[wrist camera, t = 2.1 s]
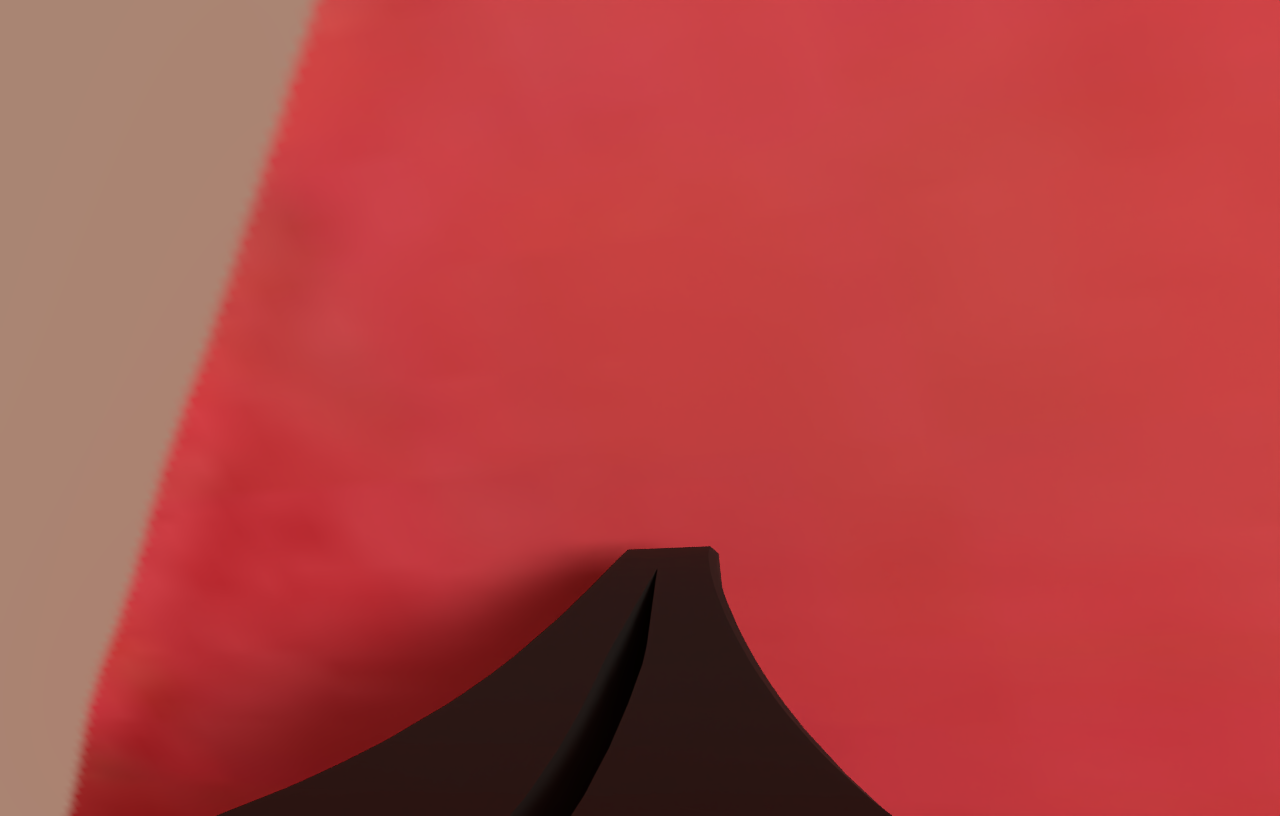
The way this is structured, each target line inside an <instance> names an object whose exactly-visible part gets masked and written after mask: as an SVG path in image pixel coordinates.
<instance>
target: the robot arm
mask: <svg viewBox="0 0 1280 816" xmlns="http://www.w3.org/2000/svg"><path fill="white" fill-rule="evenodd" d="M217 816H892V815H891V814H889V813H888V812H887V811H885V810H884V809H883V808H882V807H881V806H880V805H878V804H877V803H876V802H875V801H874V800H873V799H872V798H871V797H870V796H869V795H868V794H867V793H866V792H864V791H863V790H862V789H861V788H860V787H859V786H858V785H857V784H856V783H855V782H854V781H853V780H852V779H851V778H850V777H848V776H847V775H846V774H845V773H844V772H843V770H842V769H841V768H840V767H839V766H838V765H837V764H836V763H835V762H834V761H833V760H832V759H831V757H830V756H829V755H828V754H827V753H826V752H825V751H824V750H823V749H822V748H821V747H820V745H819V744H818V743H817V742H816V741H815V740H814V739H813V738H812V737H811V736H810V735H809V734H808V732H807V731H806V730H805V729H804V728H803V727H802V725H801V724H800V723H799V722H798V720H797V719H796V718H795V717H794V715H793V714H792V713H791V711H790V710H789V709H788V708H787V706H786V705H785V704H784V702H783V701H782V700H781V698H780V697H779V695H778V694H777V692H776V691H775V690H774V688H773V687H772V685H771V684H770V682H769V681H768V679H767V678H766V676H765V675H764V673H763V672H762V670H761V668H760V667H759V665H758V663H757V662H756V660H755V658H754V656H753V655H752V653H751V651H750V649H749V648H748V646H747V644H746V642H745V640H744V638H743V636H742V634H741V632H740V630H739V628H738V626H737V624H736V622H735V619H734V617H733V615H732V612H731V610H730V608H729V605H728V603H727V601H726V598H725V595H724V592H723V589H722V582H721V573H720V563H719V554H718V553H717V552H716V551H715V550H714V549H713V548H711V547H710V546H708V547H683V548H659V549H634V550H627V551H626V552H625V553H624V554H623V555H622V556H621V557H620V558H619V559H618V560H617V561H616V562H615V563H614V564H613V565H612V566H611V567H610V568H609V569H608V570H607V571H606V572H605V573H604V574H603V575H602V576H601V577H600V578H599V579H598V580H597V581H596V582H595V583H594V584H593V585H592V586H591V587H590V588H589V589H588V590H587V591H586V592H585V593H584V594H583V595H582V596H581V597H580V598H579V599H578V600H577V601H576V602H575V603H574V604H573V605H572V606H571V607H570V608H569V609H568V610H567V611H566V612H565V613H564V614H562V615H561V616H560V617H559V618H558V619H557V620H556V621H555V622H554V623H552V624H551V625H550V626H549V627H548V628H547V629H545V630H544V631H543V632H542V633H541V634H540V635H539V636H537V637H536V638H535V639H534V640H533V641H532V642H530V643H529V644H528V645H527V646H526V647H525V648H523V649H522V650H521V651H520V652H519V653H518V654H517V655H515V656H514V657H513V658H512V659H510V660H509V661H508V662H506V663H505V664H504V665H503V666H501V667H500V668H499V669H497V670H496V671H495V672H493V673H492V674H491V675H489V676H488V677H486V678H485V679H484V680H482V681H481V682H479V683H478V684H476V685H475V686H474V687H472V688H471V689H469V690H468V691H466V692H465V693H463V694H462V695H461V696H459V697H458V698H456V699H454V700H453V701H451V702H450V703H448V704H447V705H445V706H443V707H442V708H440V709H438V710H437V711H435V712H433V713H431V714H430V715H428V716H426V717H425V718H423V719H421V720H420V721H418V722H416V723H415V724H413V725H411V726H409V727H408V728H406V729H404V730H403V731H401V732H399V733H398V734H396V735H394V736H393V737H391V738H389V739H387V740H385V741H384V742H382V743H380V744H378V745H376V746H374V747H372V748H370V749H368V750H366V751H364V752H362V753H360V754H358V755H356V756H354V757H352V758H350V759H349V760H346V761H344V762H342V763H340V764H338V765H336V766H334V767H332V768H329V769H327V770H325V771H323V772H321V773H319V774H317V775H315V776H312V777H310V778H308V779H306V780H304V781H301V782H299V783H297V784H294V785H292V786H290V787H288V788H285V789H283V790H280V791H278V792H275V793H273V794H270V795H268V796H265V797H263V798H260V799H258V800H255V801H252V802H250V803H247V804H245V805H242V806H240V807H237V808H235V809H232V810H230V811H227V812H225V813H222V814H220V815H217Z"/></svg>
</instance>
